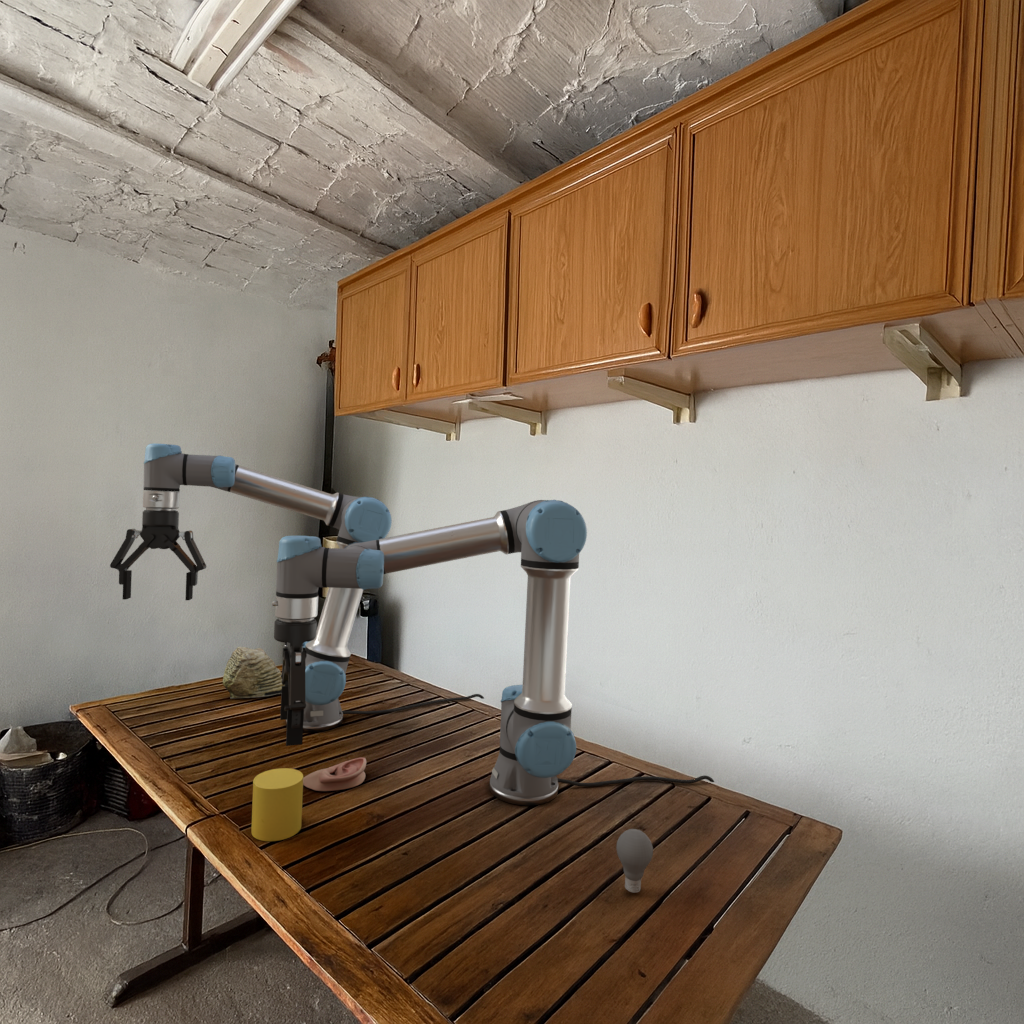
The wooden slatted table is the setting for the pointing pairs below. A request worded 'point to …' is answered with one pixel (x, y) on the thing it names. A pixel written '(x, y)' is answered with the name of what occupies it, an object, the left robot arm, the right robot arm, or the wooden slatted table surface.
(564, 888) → the wooden slatted table surface
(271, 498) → the left robot arm
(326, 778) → the anatomical model
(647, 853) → the light bulb
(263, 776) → the canister
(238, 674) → the fossil
